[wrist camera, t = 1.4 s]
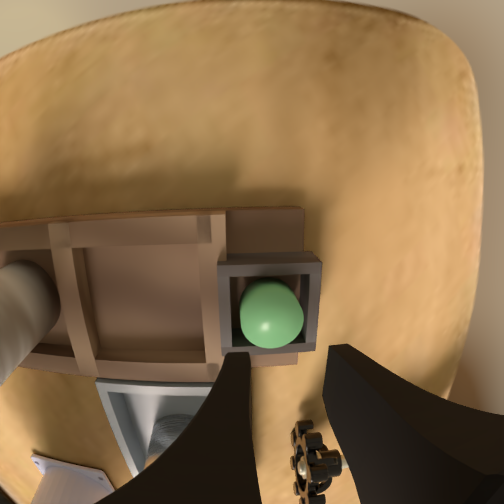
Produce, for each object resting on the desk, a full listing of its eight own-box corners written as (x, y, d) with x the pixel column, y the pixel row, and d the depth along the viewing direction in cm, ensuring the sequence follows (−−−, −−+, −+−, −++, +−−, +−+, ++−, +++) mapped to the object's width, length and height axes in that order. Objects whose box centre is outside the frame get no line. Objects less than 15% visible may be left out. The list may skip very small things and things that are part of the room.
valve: (444, 375, 20) (294, 401, 19) (490, 427, 13) (317, 480, 12) (420, 433, 21) (287, 459, 21) (452, 484, 15) (301, 528, 14)
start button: (294, 327, 15) (301, 346, 13) (239, 329, 15) (241, 349, 13) (296, 276, 14) (305, 290, 13) (238, 278, 14) (240, 293, 12)
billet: (219, 454, 19) (220, 523, 13) (159, 453, 19) (148, 518, 13) (214, 414, 18) (213, 489, 12) (146, 412, 18) (128, 484, 12)
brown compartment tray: (300, 354, 18) (333, 441, 11) (1, 344, 16) (-52, 399, 10) (307, 206, 16) (365, 237, 9) (-27, 225, 14) (-102, 255, 7)
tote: (247, 477, 21) (249, 500, 18) (147, 474, 20) (143, 496, 18) (243, 360, 18) (245, 386, 15) (107, 358, 17) (94, 382, 15)
